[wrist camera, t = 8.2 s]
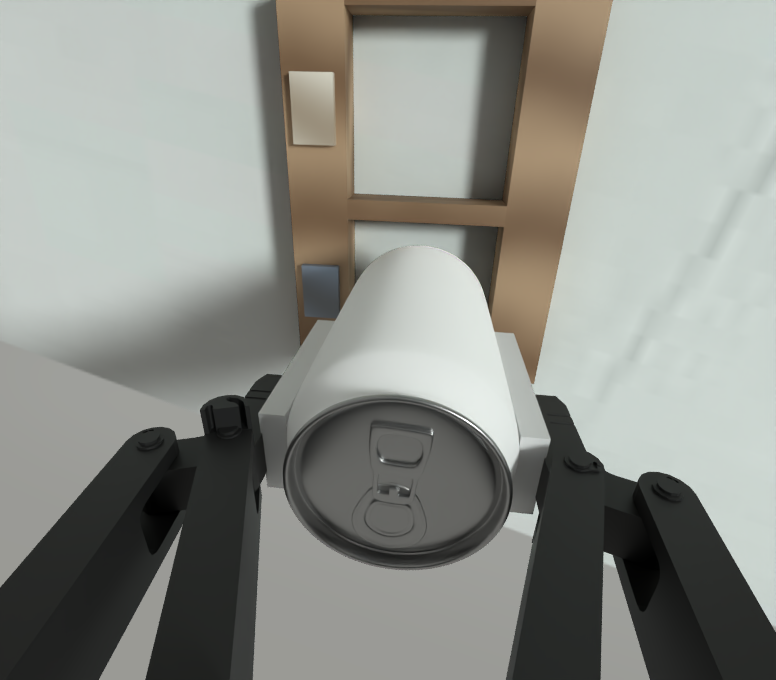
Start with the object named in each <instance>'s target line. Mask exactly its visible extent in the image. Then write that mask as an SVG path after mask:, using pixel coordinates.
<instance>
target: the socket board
mask: <svg viewBox="0 0 776 680" xmlns="http://www.w3.org/2000/svg"><path fill="white" fill-rule="evenodd" d="M612 2H613V0H276V12H277V25H278V39H279V53H280V67H281V81H282V95H283V109H284V123H285V136H286V150H287V164H288V178H289V192H290V206H291V220H292V234H293V248H294V261H295V275H296V289H297V303H298V317H299V331H300V345H302V344H303V342H304V341H305V339H306V338H307V336H308V334H309V333H310V331H311V330H312V328H313V327H314V325H315V323H316V322H317V320H328V321H335V320H336V318H337V317H338V315H339V313H340V311H341V309H342V307H343V306H344V304H345V302H346V300H347V298H348V296H349V295H350V293H351V291H352V289H353V287H354V286H355V221H354V220H371V221H392V222H413V223H433V224H454V225H474V226H495V227H498V234H497V241H496V248H495V256H494V263H493V270H492V278H491V285H490V292H489V299H488V310H489V313H490V317H491V321H492V325H493V329H494V332H502V333H514V335H515V338H516V341H517V344H518V347H519V350H520V353H521V355H522V358H523V361H524V364H525V367H526V370H527V373H528V376H529V378H530V381H531V384H534V381H535V376H536V371H537V366H538V361H539V356H540V351H541V347H542V342H543V337H544V332H545V327H546V322H547V317H548V313H549V308H550V303H551V298H552V293H553V288H554V283H555V279H556V274H557V269H558V264H559V259H560V254H561V249H562V245H563V240H564V235H565V230H566V225H567V220H568V215H569V211H570V206H571V201H572V196H573V191H574V186H575V181H576V176H577V172H578V167H579V162H580V157H581V152H582V147H583V142H584V138H585V133H586V128H587V123H588V118H589V113H590V108H591V104H592V99H593V94H594V89H595V84H596V79H597V74H598V70H599V65H600V60H601V55H602V50H603V45H604V40H605V36H606V31H607V26H608V21H609V16H610V11H611V6H612ZM353 15H383V16H526V17H527V22H526V30H525V37H524V44H523V52H522V59H521V66H520V73H519V81H518V88H517V95H516V103H515V110H514V117H513V124H512V132H511V139H510V146H509V154H508V161H507V168H506V175H505V183H504V190H503V197H502V200H487V199H464V198H441V197H418V196H395V195H372V194H354V105H353Z"/></svg>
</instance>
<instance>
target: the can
mask: <svg viewBox="0 0 776 680" xmlns="http://www.w3.org/2000/svg"><path fill="white" fill-rule="evenodd" d="M287 448H288V449H287V452H286V455H285V459H284V464H283V485H284V490H285V494H286V497H287V500H288V502H289V504H290V506H291V508H292V510H293V512H294V514H295V515H296V517H297V518H298V520H299V521H300V522H301V523H302V525H303V526H304V527H305V528H306V529H307V530H308V531H309V532H310V533H311V534H312V535H313V536H314V537H315V538H317V539H318V540H319V541H320V542H322V543H323V544H325V545H326V546H328V547H329V548H331V549H333V550H334V551H336V552H338V553H340V554H342V555H344V556H346V557H348V558H350V559H353V560H355V561H358V562H361V563H364V564H368V565H372V566H376V567H381V568H387V569H395V570H422V569H431V568H437V567H441V566H445V565H449V564H452V563H455V562H457V561H460V560H462V559H465V558H467V557H469V556H471V555H472V554H474V553H476V552H477V551H479V550H480V549H482V548H483V547H484V546H486V545H487V544H488V543H489V542H490V541H491V540H492V539H493V538H494V537H495V536H496V535H497V533H498V532H499V531H500V530H501V528H502V527H503V525H504V523H505V521H506V519H507V517H508V515H509V512H510V509H511V504H512V498H513V484H512V480H513V478H514V475H515V472H516V468H517V464H518V459H519V434H518V428H517V423H516V418H515V413H514V408H513V404H512V400H511V396H510V392H509V388H508V384H507V380H506V376H505V372H504V368H503V364H502V360H501V356H500V352H499V348H498V344H497V340H496V336H495V332H494V329H493V325H492V321H491V317H490V313H489V310H488V306H487V302H486V299H485V295H484V292H483V289H482V287H481V285H480V283H479V281H478V279H477V277H476V276H475V274H474V273H473V271H472V270H471V269H470V268H469V267H468V266H467V265H466V264H465V263H464V262H463V261H462V260H460V259H459V258H457V257H456V256H454V255H453V254H451V253H449V252H447V251H444V250H442V249H438V248H435V247H430V246H420V245H415V246H405V247H401V248H397V249H394V250H391V251H389V252H387V253H385V254H383V255H381V256H380V257H378V258H377V259H376V260H374V261H373V262H372V263H371V264H370V265H369V266H368V267H367V268H366V269H365V270H364V272H363V273H362V274H361V276H360V277H359V279H358V280H357V282H356V284H355V286H354V287H353V289H352V291H351V293H350V295H349V296H348V298H347V300H346V302H345V304H344V306H343V307H342V309H341V311H340V313H339V315H338V317H337V318H336V320H335V322H334V324H333V326H332V328H331V330H330V332H329V333H328V335H327V337H326V339H325V341H324V343H323V345H322V346H321V348H320V350H319V352H318V354H317V356H316V358H315V360H314V362H313V363H312V365H311V367H310V369H309V371H308V373H307V375H306V377H305V379H304V381H303V383H302V385H301V387H300V389H299V391H298V393H297V395H296V397H295V400H294V402H293V405H292V408H291V411H290V414H289V418H288V424H287Z"/></svg>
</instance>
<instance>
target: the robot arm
mask: <svg viewBox="0 0 776 680" xmlns="http://www.w3.org/2000/svg"><path fill="white" fill-rule="evenodd" d="M334 322H335V321H328V320H317V322H316V323H315V325H314V327H313V328H312V330H311V331H310V333H309V334H308V336H307V338H306V339H305V341H304V342H303V344H302V345H301V347H300V349H299V350H298V352H297V353H296V355H295V356H294V358H293V360H292V361H291V363H290V364H289V366H288V367H287V369H286V371H285V372H284V374H283V375H273V374H267V375H265V376H263V377H262V378H260V379H259V380H257V381H256V382H255V384H254V385H253V386H252V388H251V389H250V391H249V392H248V393H247V395H246V396H245V398H244V397H241V396H237V395H226V396H220V397H217V398H214V399H212V400H210V401H208V402H207V403H206V404H204V405H203V406H202V408H201V410H200V413H201V418H202V423H203V428H204V433H205V435H204V436H201V437H196V438H189V439H181V440H177V439H176V435H175V432H174V431H172V430H171V429H169V428H164V427H155V428H150V429H146V430H143V431H141V432H139V433H137V434H135V435H133V436H132V437H131V438H129V439H128V440H127V441H126V442H125V443H124V445H123V446H122V447H121V448H120V449H119V450H118V452H117V453H116V454H115V455H114V456H113V458H112V459H111V460H110V461H109V462H108V463H107V464H106V466H105V467H104V468H103V469H102V470H101V471H100V472H99V474H98V475H97V476H96V477H95V478H94V479H93V481H92V482H91V483H90V484H89V485H88V486H87V488H86V489H85V490H84V491H83V492H82V493H81V495H80V496H79V497H78V498H77V499H76V500H75V501H74V503H73V504H72V505H71V506H70V507H69V508H68V510H67V511H66V512H65V513H64V514H63V515H62V516H61V518H60V519H59V520H58V521H57V522H56V524H55V525H54V526H53V527H52V528H51V529H50V531H49V532H48V533H47V534H46V535H45V536H44V537H43V539H42V540H41V541H40V542H39V543H38V544H37V545H36V547H35V548H34V549H33V550H32V551H31V553H30V554H29V555H28V556H27V557H26V558H25V559H24V561H23V562H22V563H21V564H20V566H18V568H17V569H16V570H15V571H14V572H13V573H12V575H11V576H10V577H9V578H8V579H7V580H6V581H5V583H4V584H3V585H2V586H1V587H0V680H99V678H100V676H101V674H102V672H103V671H104V669H105V667H106V665H107V663H108V661H109V659H110V658H111V656H112V654H113V652H114V650H115V649H116V647H117V645H118V643H119V641H120V639H121V637H122V636H123V634H124V632H125V630H126V628H127V626H128V625H129V622H130V621H131V619H132V617H133V615H134V613H135V612H136V610H137V608H138V606H139V604H140V602H141V600H142V598H143V597H144V595H145V593H146V591H147V589H148V587H149V586H150V584H151V582H152V580H153V578H154V576H155V574H156V573H157V571H158V569H159V567H160V565H161V563H162V562H163V560H164V558H165V556H166V554H167V552H168V551H169V549H170V547H171V545H172V543H173V541H174V539H175V538H176V536H177V534H178V532H179V530H180V528H181V527H182V530H181V535H180V539H179V543H178V547H177V551H176V555H175V559H174V564H173V568H172V572H171V576H170V580H169V585H168V588H167V592H166V597H165V601H164V605H163V609H162V613H161V617H160V621H159V626H158V630H157V634H156V638H155V642H154V647H153V651H152V655H151V659H150V663H149V667H148V671H147V675H146V679H145V680H253V660H254V639H255V619H256V599H257V580H258V559H259V539H260V519H261V499H262V494H261V487H260V484H261V482H262V480H263V478H264V476H265V474H266V478H267V485H268V487H276V488H284V485H283V464H284V459H285V455H286V452H287V449H288V448H287V424H288V418H289V414H290V411H291V408H292V405H293V402H294V400H295V397H296V395H297V393H298V391H299V389H300V387H301V385H302V383H303V381H304V379H305V377H306V375H307V373H308V371H309V369H310V367H311V365H312V363H313V362H314V360H315V358H316V356H317V354H318V352H319V350H320V348H321V346H322V345H323V343H324V341H325V339H326V337H327V335H328V333H329V332H330V330H331V328H332V326H333V324H334ZM495 336H496V340H497V344H498V348H499V352H500V356H501V360H502V364H503V368H504V372H505V376H506V380H507V384H508V388H509V392H510V396H511V400H512V404H513V408H514V413H515V418H516V423H517V428H518V434H519V459H518V464H517V468H516V472H515V475H514V478H513V480H512V484H513V498H512V504H511V509H510V512H517V513H526V514H533V511H534V507H535V503H536V502H537V505H538V509H539V515H538V519H537V523H536V527H535V531H534V535H533V539H532V543H533V544H532V549H531V554H530V559H529V564H528V569H527V575H526V580H525V585H524V590H523V595H522V600H521V605H520V610H519V616H518V621H517V626H516V631H515V636H514V641H513V646H512V651H511V656H510V662H509V666H508V672H507V677H506V680H600V675H601V673H600V671H601V632H602V587H603V551H604V552H607V553H609V554H612V555H613V558H614V561H615V564H616V568H617V571H618V574H619V578H620V581H621V584H622V588H623V591H624V594H625V597H626V601H627V604H628V608H629V611H630V614H631V618H632V621H633V624H634V627H635V631H636V634H637V638H638V641H639V644H640V648H641V651H642V654H643V657H644V661H645V664H646V668H647V671H648V674H649V678H650V680H776V632H775V630H774V629H773V627H772V625H771V623H770V622H769V620H768V618H767V617H766V615H765V613H764V611H763V610H762V608H761V606H760V604H759V603H758V601H757V599H756V597H755V596H754V594H753V592H752V591H751V589H750V587H749V585H748V584H747V582H746V580H745V578H744V577H743V575H742V573H741V571H740V570H739V568H738V566H737V565H736V563H735V561H734V559H733V558H732V556H731V554H730V552H729V551H728V549H727V547H726V545H725V544H724V542H723V540H722V538H721V537H720V535H719V533H718V532H717V530H716V528H715V526H714V525H713V523H712V521H711V519H710V518H709V516H708V514H707V512H706V511H705V509H704V507H703V506H702V504H701V502H700V500H699V499H698V497H697V495H696V494H695V493H694V491H693V490H692V489H691V488H690V487H689V486H688V485H686V484H685V483H684V482H682V481H681V480H679V479H677V478H675V477H673V476H671V475H668V474H664V473H660V472H647V473H644V474H642V475H641V476H640V478H639V479H638V482H634V481H631V480H628V479H625V478H621V477H618V476H615V475H613V474H610V473H608V472H606V471H605V469H604V466H603V464H602V463H601V462H600V460H599V459H598V458H596V457H595V456H594V455H592V454H591V453H589V452H586V450H585V447H584V445H583V443H582V441H581V438H580V436H579V434H578V432H577V429H576V427H575V426H574V423H573V420H572V418H571V417H570V414H569V411H568V409H567V407H566V405H565V404H564V403H563V402H561V401H560V400H559V399H558V398H557V397H556V396H546V395H535V393H534V390H533V387H532V384H531V381H530V378H529V376H528V373H527V370H526V367H525V364H524V361H523V358H522V355H521V353H520V350H519V347H518V344H517V341H516V338H515V335H514V333H502V332H495ZM182 525H183V526H182Z"/></svg>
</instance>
